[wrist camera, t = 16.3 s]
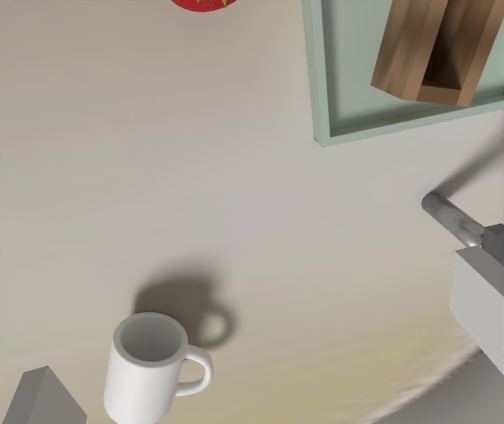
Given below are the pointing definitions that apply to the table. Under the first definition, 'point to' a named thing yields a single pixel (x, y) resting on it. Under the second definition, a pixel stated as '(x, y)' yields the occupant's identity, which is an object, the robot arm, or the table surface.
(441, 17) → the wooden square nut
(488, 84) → the tray
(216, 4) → the strawberry
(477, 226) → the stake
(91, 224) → the table surface
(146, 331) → the mug
